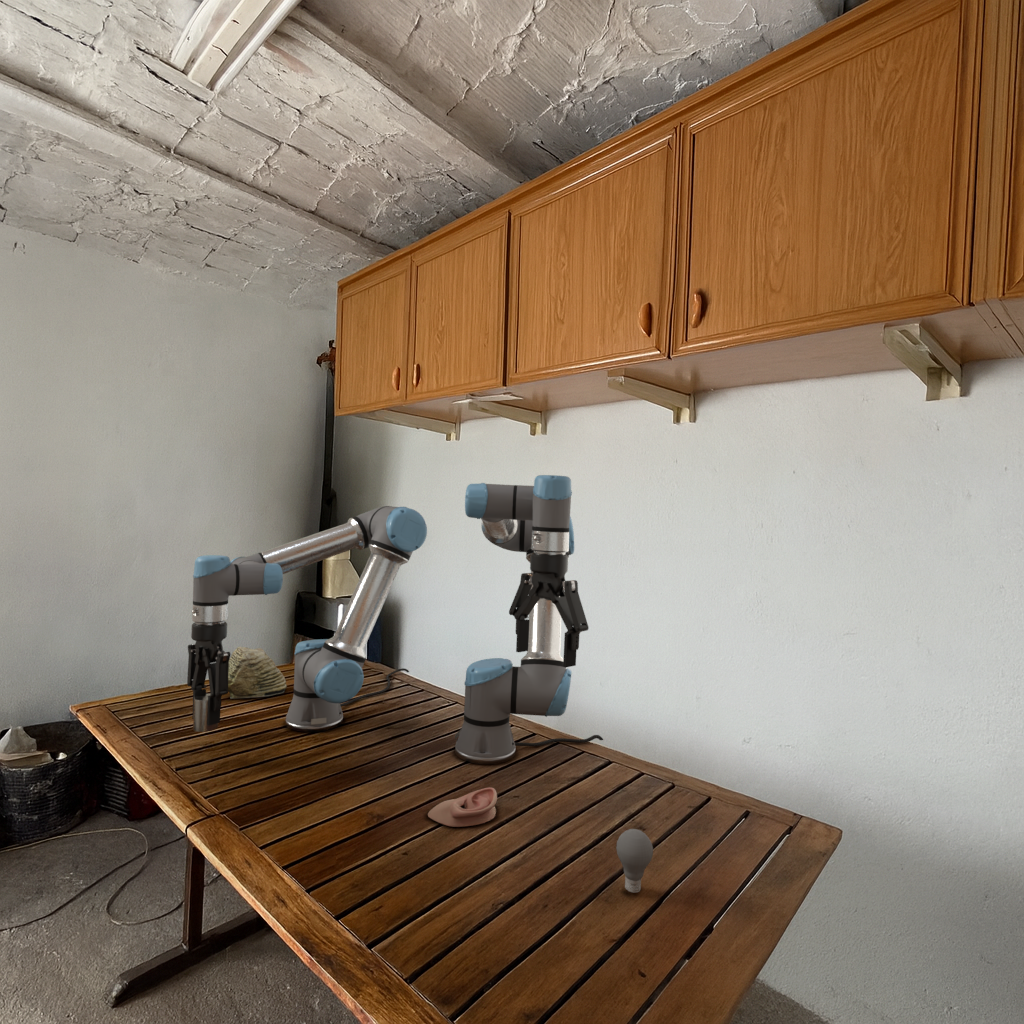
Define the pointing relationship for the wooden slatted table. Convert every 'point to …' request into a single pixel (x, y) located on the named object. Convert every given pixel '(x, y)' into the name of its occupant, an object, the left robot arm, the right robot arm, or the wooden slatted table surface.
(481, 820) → the anatomical model
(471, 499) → the right robot arm
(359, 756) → the wooden slatted table surface
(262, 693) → the fossil
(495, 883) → the wooden slatted table surface
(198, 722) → the canister
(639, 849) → the light bulb
